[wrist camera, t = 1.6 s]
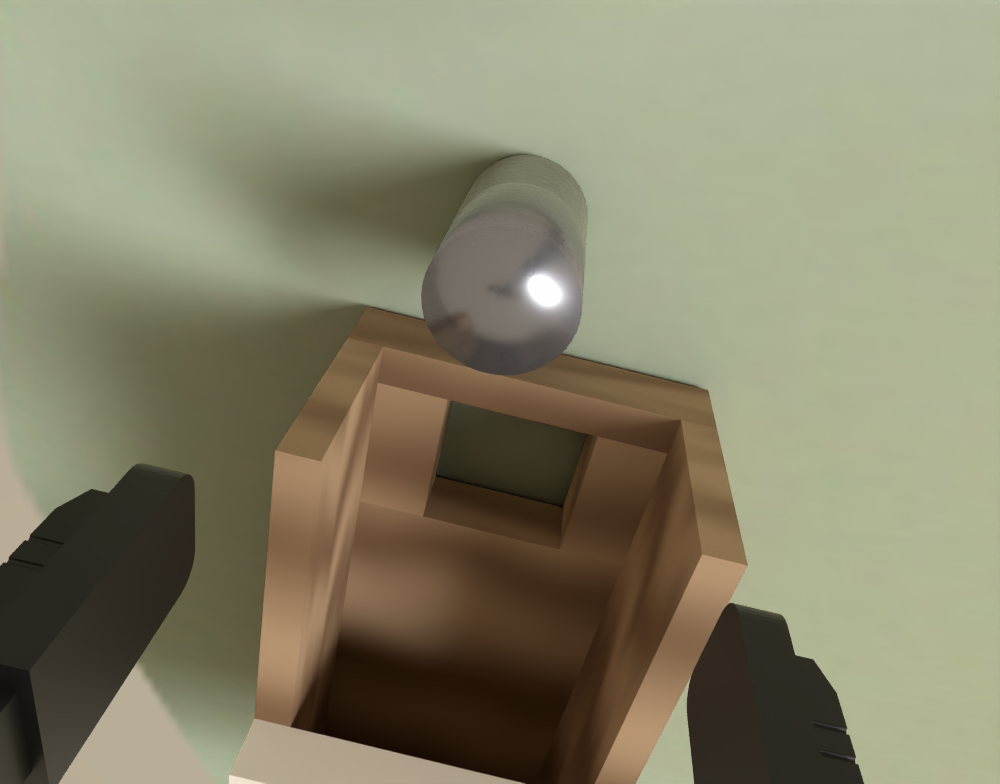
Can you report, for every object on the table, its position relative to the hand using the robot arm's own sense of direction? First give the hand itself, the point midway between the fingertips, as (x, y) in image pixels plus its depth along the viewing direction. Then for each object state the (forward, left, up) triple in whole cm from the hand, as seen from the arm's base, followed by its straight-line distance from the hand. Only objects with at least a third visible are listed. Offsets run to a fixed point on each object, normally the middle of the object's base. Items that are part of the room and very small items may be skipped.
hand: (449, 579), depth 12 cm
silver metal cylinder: (0, 0, -16) cm, 16 cm away
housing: (+15, +1, -16) cm, 22 cm away
